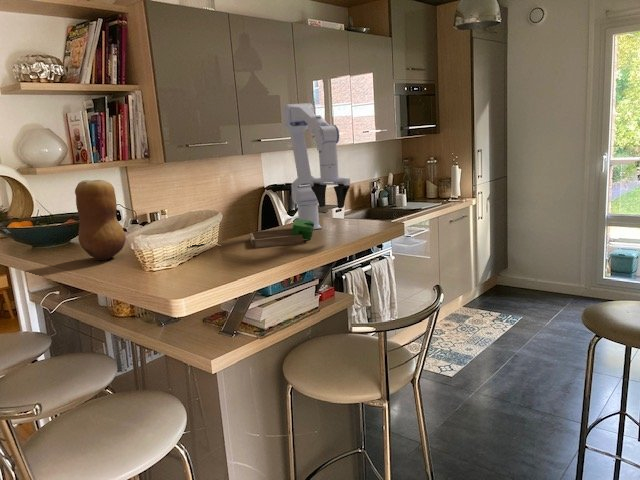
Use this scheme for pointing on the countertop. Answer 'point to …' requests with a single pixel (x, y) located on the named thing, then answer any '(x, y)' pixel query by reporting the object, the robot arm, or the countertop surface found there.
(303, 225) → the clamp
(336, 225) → the countertop surface
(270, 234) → the tray
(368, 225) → the countertop surface
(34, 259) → the countertop surface
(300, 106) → the robot arm
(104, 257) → the butternut squash
